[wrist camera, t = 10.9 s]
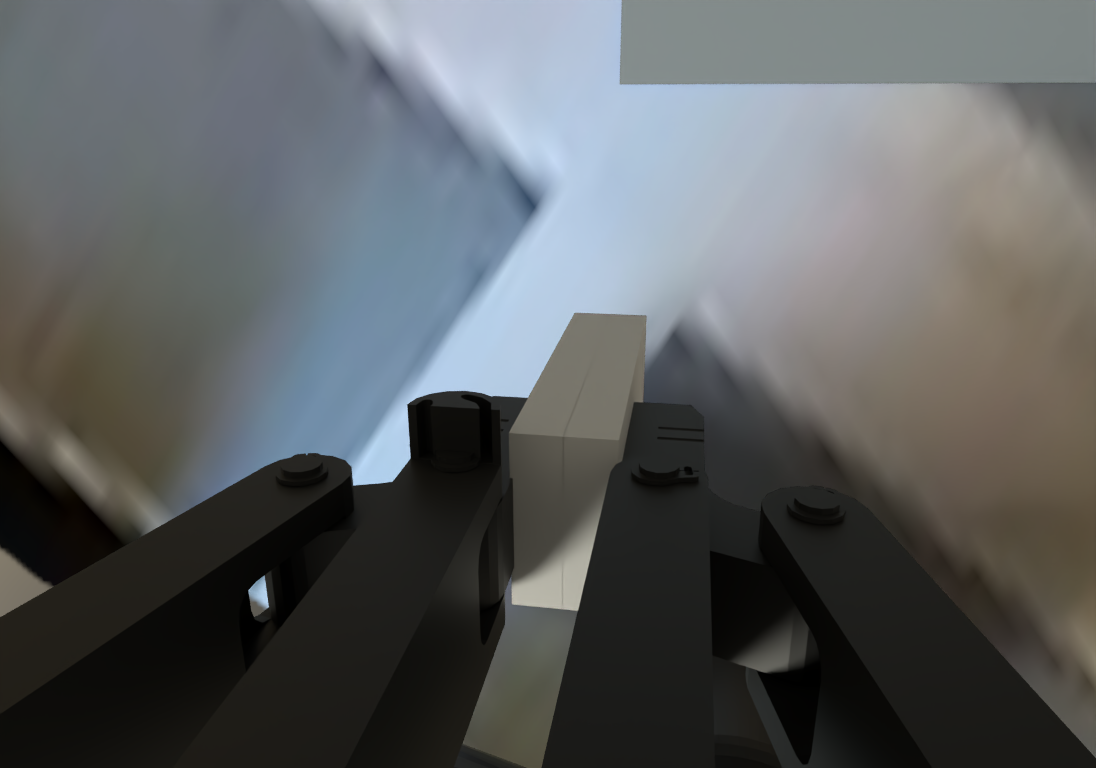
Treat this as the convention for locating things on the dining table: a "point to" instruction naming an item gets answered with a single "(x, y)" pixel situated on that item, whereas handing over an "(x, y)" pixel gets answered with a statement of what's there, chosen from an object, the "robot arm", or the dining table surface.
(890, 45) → the card
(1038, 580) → the dining table surface
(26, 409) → the dining table surface
